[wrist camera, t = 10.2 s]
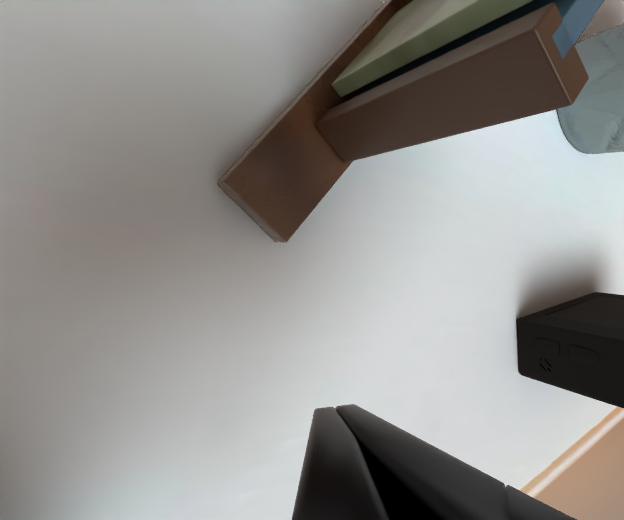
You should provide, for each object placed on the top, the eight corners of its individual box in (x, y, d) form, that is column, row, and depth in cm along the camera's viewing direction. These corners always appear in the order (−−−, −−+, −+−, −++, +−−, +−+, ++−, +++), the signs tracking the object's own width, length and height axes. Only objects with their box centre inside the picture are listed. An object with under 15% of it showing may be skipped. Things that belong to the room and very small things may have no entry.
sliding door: (344, 163, 21) (572, 106, 11) (314, 125, 20) (534, 27, 10) (413, 81, 23) (659, -29, 13) (387, 42, 22) (633, -107, 12)
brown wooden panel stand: (275, 242, 21) (523, 257, 9) (216, 183, 19) (426, 112, 8) (423, 64, 25) (727, -82, 13) (384, 2, 23) (692, -226, 12)
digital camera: (518, 391, 31) (626, 430, 25) (514, 319, 30) (625, 341, 24) (596, 354, 36) (702, 379, 30) (594, 291, 35) (703, 304, 29)
